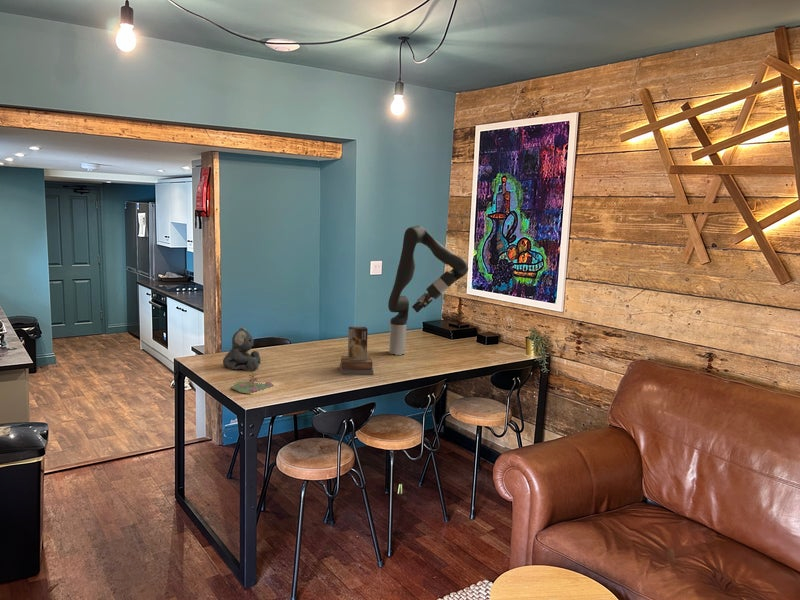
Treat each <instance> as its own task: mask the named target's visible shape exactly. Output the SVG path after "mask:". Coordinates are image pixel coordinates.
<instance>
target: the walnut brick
mask: <svg viewBox="0 0 800 600" xmlns="http://www.w3.org/2000/svg"><path fill="white" fill-rule="evenodd" d="M340 363H341V367H342V370H372V368H373V366H374V365H373V364H374V363H373V360H372V357H371V355H370V356H368V355H367V360H349V359H348V355H340Z"/></svg>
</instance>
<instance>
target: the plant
mask: <svg viewBox="0 0 800 600" xmlns="http://www.w3.org/2000/svg"><path fill="white" fill-rule="evenodd" d="M250 372H251V371H250ZM248 375H249V376H248V377H249V379H248V380H249V381H239V382H237V383H235V384H233V385H232V386H230V389H231V390H233V391H236V392H239V393H241V394H244V393H246V395H248V394H247V393H254V392H257V391H260V390H264V389H266V388H270V387H273V386H274V385H273V384H272V383H271V382H272V381H265V382H266V383H265V384H262V383H261V384H260V383H259V384H258V383H254V382H258V379H257V378H259V376H255V373H254V370H252V372H251V373H248Z"/></svg>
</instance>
